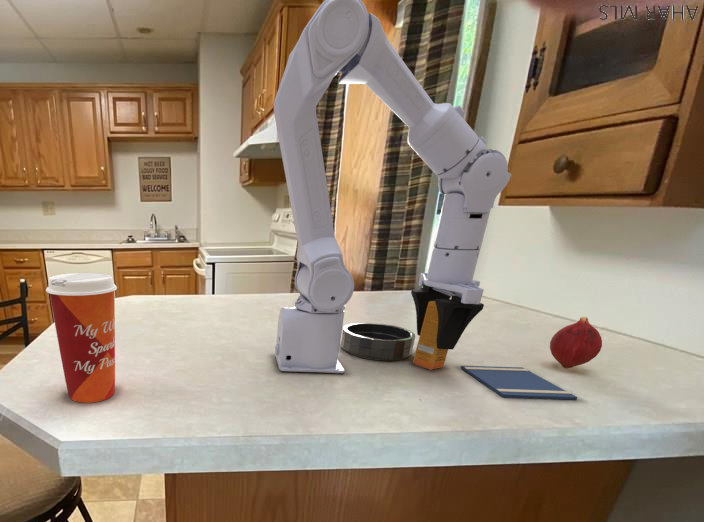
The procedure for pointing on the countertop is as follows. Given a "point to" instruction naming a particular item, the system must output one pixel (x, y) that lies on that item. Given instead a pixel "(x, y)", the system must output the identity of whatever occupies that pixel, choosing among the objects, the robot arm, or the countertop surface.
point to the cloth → (517, 383)
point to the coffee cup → (85, 333)
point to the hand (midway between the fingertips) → (434, 341)
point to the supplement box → (429, 341)
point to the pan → (377, 341)
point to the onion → (576, 344)
